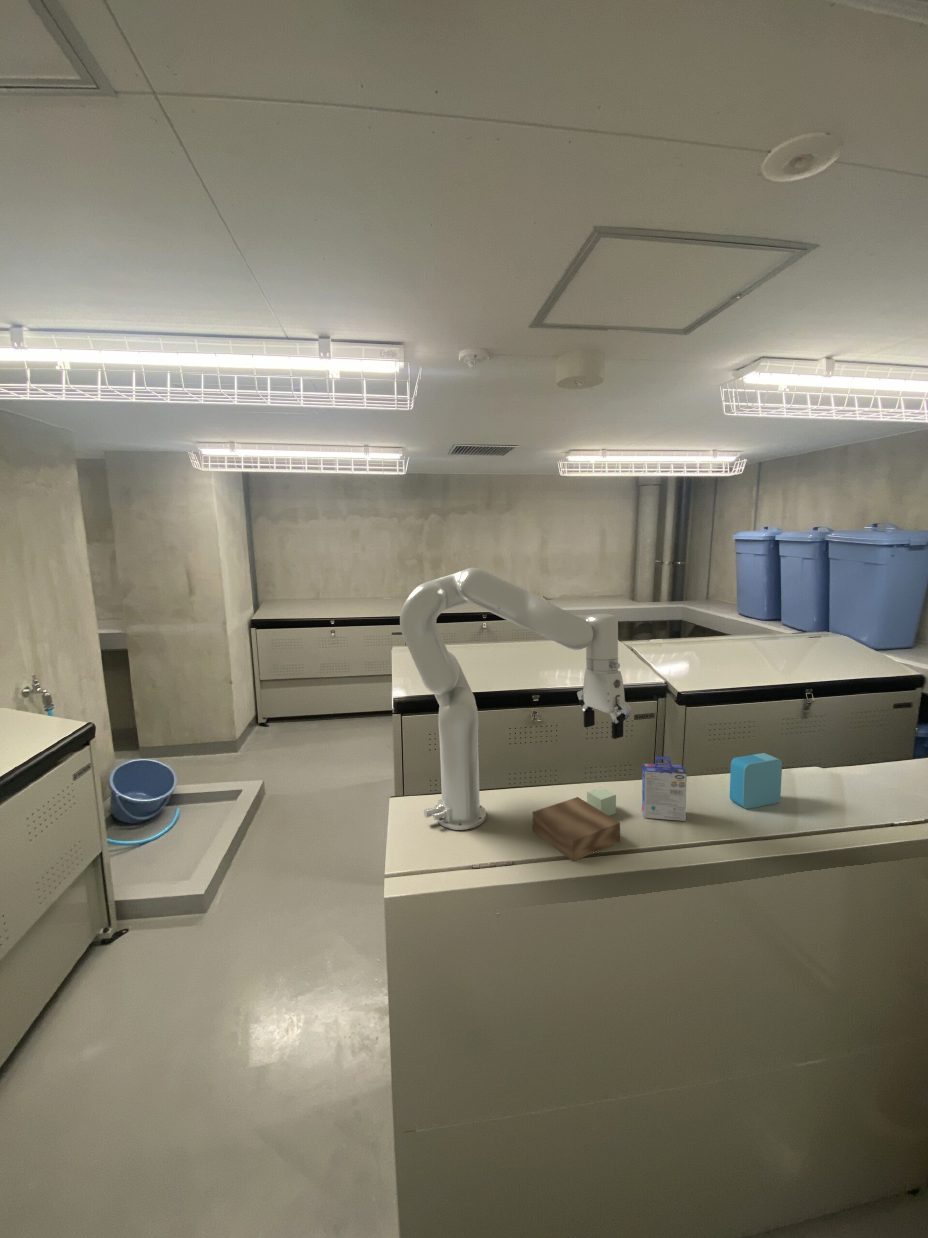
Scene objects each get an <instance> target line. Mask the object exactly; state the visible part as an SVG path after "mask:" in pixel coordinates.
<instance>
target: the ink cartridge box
mask: <svg viewBox="0 0 928 1238" xmlns="http://www.w3.org/2000/svg"><path fill="white" fill-rule="evenodd" d="M654 757H655V760H654V761H655V762H654V763H642V764H641V774H642V775H641V785H642V789H641V792H642V793H641V794H642V796H641V812H642V816H643V818H644V819H653V820H654V819H656V820H668V821H669V820H670V821H681V822H682V821H683V822H685V821H686V819H687V817H686V815H687V814H686V813H687V779H688V777H687V775H688V774H687V772H686V770H685V768H684V766H683V765H681V764H672V761H671V760H672V759H671V756H659V755H656V756H654ZM660 760H664V761H667V762H659V761H660Z"/></svg>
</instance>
